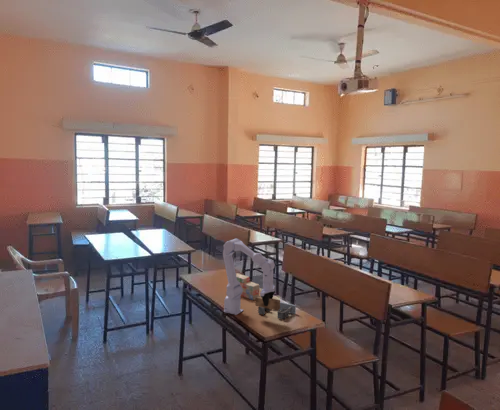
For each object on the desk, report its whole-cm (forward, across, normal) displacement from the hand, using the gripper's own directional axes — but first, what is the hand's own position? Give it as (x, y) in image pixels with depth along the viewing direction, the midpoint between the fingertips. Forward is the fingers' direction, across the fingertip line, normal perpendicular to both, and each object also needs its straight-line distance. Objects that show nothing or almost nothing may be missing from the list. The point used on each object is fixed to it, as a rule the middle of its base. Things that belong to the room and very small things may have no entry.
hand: (267, 304), depth 221 cm
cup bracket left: (+9, +8, +6) cm, 13 cm away
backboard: (+9, +14, 0) cm, 16 cm away
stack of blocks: (+9, +27, +32) cm, 43 cm away
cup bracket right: (+9, +8, -6) cm, 13 cm away
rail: (+2, 0, 0) cm, 2 cm away
